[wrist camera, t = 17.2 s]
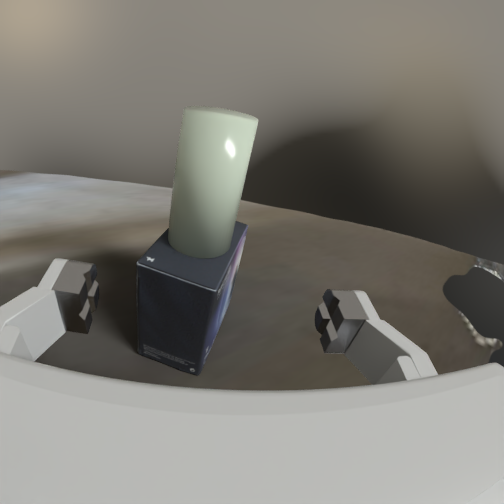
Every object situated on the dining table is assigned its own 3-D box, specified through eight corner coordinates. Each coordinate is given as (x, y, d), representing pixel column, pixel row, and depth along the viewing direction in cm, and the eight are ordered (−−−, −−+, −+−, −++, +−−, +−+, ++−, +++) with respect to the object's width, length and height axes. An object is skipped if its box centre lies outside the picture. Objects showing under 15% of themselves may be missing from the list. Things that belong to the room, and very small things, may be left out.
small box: (202, 379, 25) (219, 292, 20) (135, 354, 26) (130, 262, 20) (231, 305, 34) (252, 222, 29) (177, 287, 35) (186, 203, 29)
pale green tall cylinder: (164, 254, 22) (180, 113, 17) (171, 220, 26) (187, 103, 21) (232, 261, 23) (263, 126, 18) (229, 227, 27) (254, 114, 22)
